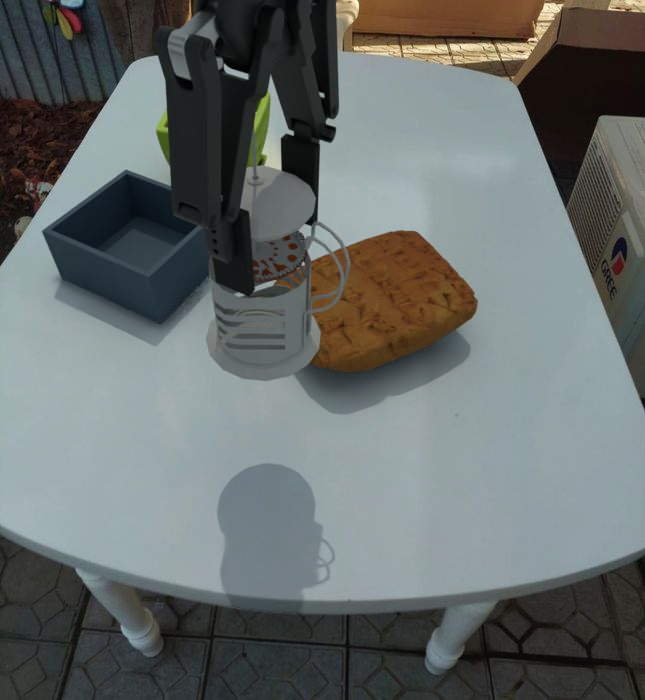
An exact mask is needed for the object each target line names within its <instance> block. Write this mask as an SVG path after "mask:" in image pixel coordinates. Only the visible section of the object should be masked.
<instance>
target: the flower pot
mask: <svg viewBox="0 0 645 700" xmlns="http://www.w3.org/2000/svg"><path fill="white" fill-rule="evenodd" d="M270 114H271V93H270V91H268V92H267V95H266V96H265V97H264V98H262V99H260V100H259V101H258V103H257V108H256V114H255V120H254V130H255V150H256V166H261V165H263V166H266V162H267V159H268V155H267V154H262V153H263V151H264V147H265V144H266V140H267V136H268V130H269V125H270V116H271V115H270ZM155 134H156V137H157V141H158V143H159V146H160V149H161V152H162V154H163V156H164V159H165V161H166V163H167V165H169V167H170V157H169V139H168V121H167V108H166V109H165V110H164V113H162V116H161V118H160V120H159V122H158V124H157V126H156V128H155ZM247 167H253V157H252V138H251V145H250V151H249V157H248V163H247Z"/></svg>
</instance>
